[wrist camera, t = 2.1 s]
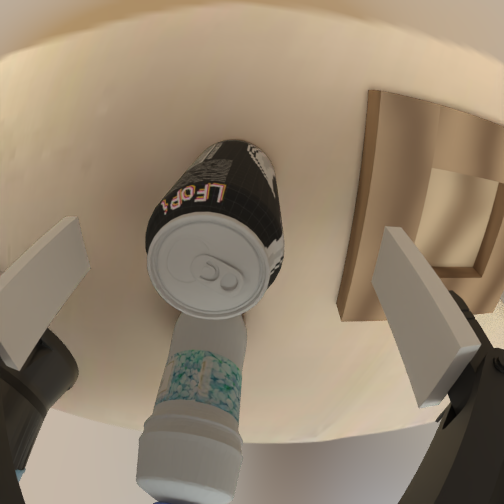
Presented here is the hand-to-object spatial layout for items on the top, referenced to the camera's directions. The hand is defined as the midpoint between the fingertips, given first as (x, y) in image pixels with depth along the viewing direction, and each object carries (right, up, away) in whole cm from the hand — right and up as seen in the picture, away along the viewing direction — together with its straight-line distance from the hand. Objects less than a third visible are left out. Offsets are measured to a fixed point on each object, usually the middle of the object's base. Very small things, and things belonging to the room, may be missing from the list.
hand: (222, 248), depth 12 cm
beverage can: (0, +5, +9) cm, 11 cm away
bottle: (-2, -6, +16) cm, 17 cm away
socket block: (+18, +3, +10) cm, 21 cm away
